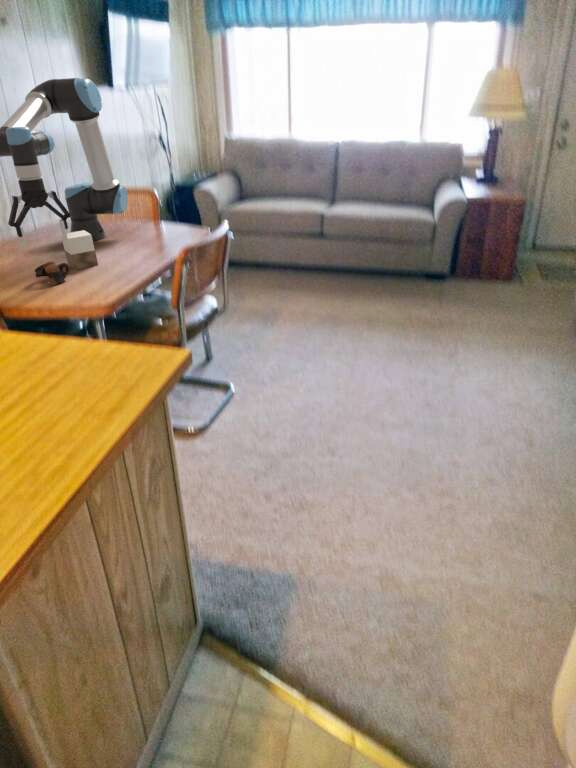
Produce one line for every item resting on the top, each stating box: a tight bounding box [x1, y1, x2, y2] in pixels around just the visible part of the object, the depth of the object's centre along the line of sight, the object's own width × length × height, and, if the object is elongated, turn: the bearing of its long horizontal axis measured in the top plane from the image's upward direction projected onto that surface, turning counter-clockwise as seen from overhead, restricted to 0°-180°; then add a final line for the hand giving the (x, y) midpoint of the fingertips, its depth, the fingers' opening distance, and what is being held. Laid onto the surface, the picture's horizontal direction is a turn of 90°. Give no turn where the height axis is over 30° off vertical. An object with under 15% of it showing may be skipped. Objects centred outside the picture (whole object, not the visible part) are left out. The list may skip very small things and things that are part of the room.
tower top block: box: [60, 230, 96, 255], centre depth 209 cm, size 9×9×6 cm
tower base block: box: [64, 249, 99, 271], centre depth 212 cm, size 9×9×6 cm
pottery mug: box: [34, 261, 71, 287], centre depth 196 cm, size 12×10×8 cm
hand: (46, 242), depth 191 cm, fingers open, 13 cm apart
